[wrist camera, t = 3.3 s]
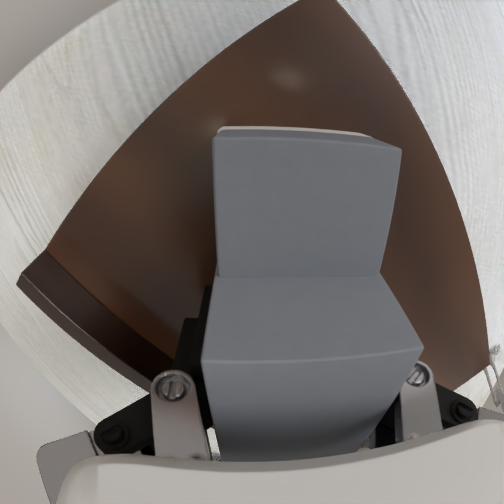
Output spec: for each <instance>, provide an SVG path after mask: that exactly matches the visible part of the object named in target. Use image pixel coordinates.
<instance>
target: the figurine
mask: <svg viewBox="0 0 504 504" xmlns="http://www.w3.org/2000/svg"><path fill="white" fill-rule="evenodd" d="M499 349H500V347H499V345H498V348H497V351H496V347H495V348H494V351H493V352H492V353H491V354H490V355H489V358H490V364H489V365H492V367H493V369H494V372H495V375H496V378H497V381H498V384H499V387H498V388H496V398H497V402H496V401H495V397H494V392H493V388H492V385H491V381H490V378H489V374H488V371H487V367H486V368H484V369H483V370H484V372H485V374H486V377H487V380H488V383H489V387H490V390H491V393H492V396H493V400H494V404H495V405H496V407H498V405H499V404H501V407H502V409H503V411H504V390H503V389H502V387H501V384H500V380H499V376H498V373H497V370H496V367H495V364H494V360H495V355H497V354H498V353H499Z"/></svg>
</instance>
